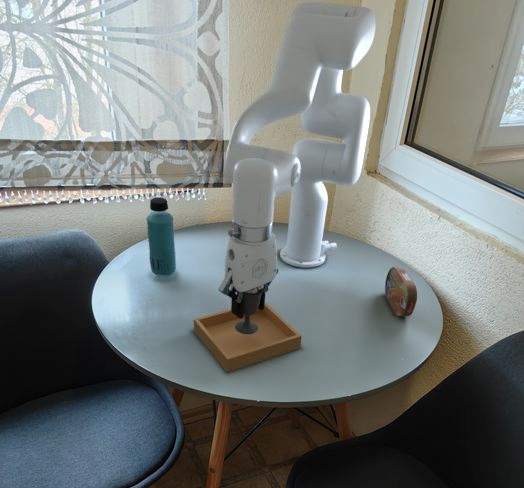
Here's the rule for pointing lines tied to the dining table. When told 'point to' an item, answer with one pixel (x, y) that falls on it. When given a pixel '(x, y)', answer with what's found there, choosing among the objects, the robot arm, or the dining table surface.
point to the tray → (246, 337)
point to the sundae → (250, 309)
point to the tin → (400, 292)
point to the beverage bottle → (161, 238)
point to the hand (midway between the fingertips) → (247, 310)
